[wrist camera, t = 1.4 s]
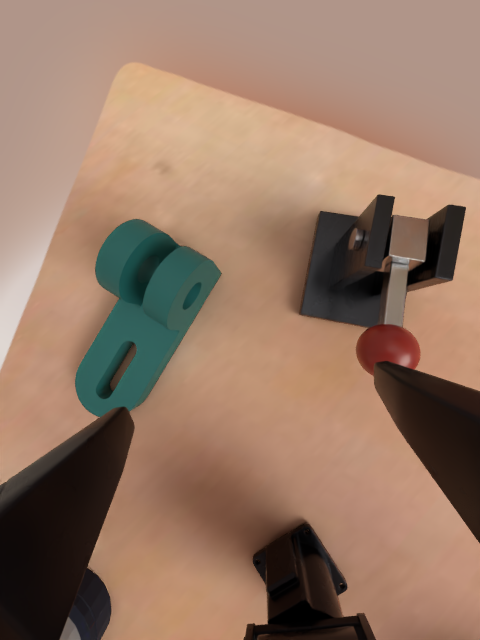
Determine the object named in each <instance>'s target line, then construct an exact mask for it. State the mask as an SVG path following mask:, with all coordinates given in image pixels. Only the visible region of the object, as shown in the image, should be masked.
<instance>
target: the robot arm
mask: <svg viewBox="0 0 480 640" xmlns="http://www.w3.org/2000/svg"><path fill="white" fill-rule="evenodd" d="M374 385H375V388H376V390H377V392H378V394H379V396H380V398H381V399H382V401H383V403H384V405H385V406H386V408H387V410H388V412H389V414H390V415H391V417H392V419H393V421H394V422H395V424H396V426H397V427H398V429H399V431H400V432H401V434H402V435H403V436H404V438H405V439H406V441H407V442H408V443H409V445H410V446H411V448H412V449H413V451H414V452H415V453H416V455H417V456H418V458H419V459H420V460H421V462H422V463H423V465H424V466H425V467H426V469H427V470H428V472H429V473H430V474H431V476H432V477H433V479H434V480H435V481H436V483H437V484H438V486H439V487H440V488H441V490H442V491H443V493H444V494H445V495H446V497H447V498H448V500H449V501H450V502H451V504H452V505H453V507H454V508H455V509H456V511H457V512H458V514H459V515H460V516H461V518H462V519H463V521H464V522H465V523H466V525H467V526H468V528H469V529H470V530H471V532H472V533H473V535H474V536H475V537H476V539H477V540H478V542H479V543H480V391H478V390H475V389H472V388H469V387H465V386H462V385H459V384H456V383H453V382H450V381H447V380H444V379H441V378H438V377H435V376H432V375H429V374H426V373H423V372H420V371H417V370H414V369H411V368H408V367H405V366H402V365H399V364H396V363H393V362H390V361H382V362H376V363H375V364H374ZM133 433H134V422H133V420H132V418H131V415H130V413H129V411H128V409H127V408H126V407H125V406H122V407H116V408H113V409H112V410H110V411H109V412H107V413H106V414H104V415H103V416H101V417H100V418H98V419H97V420H95V421H94V422H92V423H91V424H90V425H88V426H87V427H85V428H84V429H82V430H81V431H79V432H78V433H76V434H75V435H73V436H72V437H71V438H69V439H68V440H66V441H65V442H63V443H62V444H60V445H59V446H57V447H56V448H54V449H53V450H51V451H50V452H49V453H47V454H46V455H44V456H43V457H41V458H40V459H38V460H37V461H35V462H34V463H32V464H31V465H30V466H28V467H27V468H25V469H24V470H22V471H21V472H19V473H18V474H16V475H15V476H13V477H12V478H10V479H9V480H8V481H7V482H5V483H3V484H2V485H0V640H60V638H61V635H62V632H63V630H64V627H65V624H66V622H67V619H68V616H69V614H70V611H71V608H72V606H73V603H74V600H75V598H76V595H77V592H78V590H79V587H80V584H81V582H82V579H83V576H84V574H85V571H86V568H87V566H88V563H89V560H90V558H91V555H92V552H93V550H94V547H95V544H96V542H97V539H98V537H99V534H100V531H101V529H102V526H103V523H104V521H105V518H106V515H107V513H108V510H109V507H110V505H111V502H112V499H113V497H114V494H115V491H116V489H117V486H118V483H119V481H120V478H121V475H122V472H123V469H124V466H125V462H126V459H127V455H128V451H129V448H130V444H131V440H132V437H133ZM307 529H308V530H309V531H308V532H306V531H305V530H307ZM257 559H259V560H260V561H257ZM253 564H254V566H255V568H256V569H257V571H258V573H259V574H260V576H261V577H262V579H263V581H264V582H265V584H266V592H267V610H268V624H265V625H255V624H254V623H253V624H247V629H246V635H245V637H244V640H376V639H375V636H374V634H373V632H372V630H371V627H370V625H369V623H368V620H367V618H366V616H365V614H364V613H358V614H357V616H348V617H343V614H342V610H341V607H340V603H339V599H338V595H339V594H341V593H343V592H344V591H346V590H347V583H346V580H345V578H344V577H343V575H342V573H341V572H340V570H339V569H338V567H337V566H336V564H335V563H334V561H333V560H332V558H331V556H330V555H329V553H328V552H327V550H326V549H325V547H324V546H323V544H322V542H321V541H320V539H319V538H318V536H317V535H316V533H315V532H314V530H313V528H312V527H311V526H310V525H309V524H306V523H305V524H303V525H301V526H300V527H298V528H296V529H295V530H293V531H292V532H290V533H288V534H285V535H284V536H282V537H281V538H279V539H277V540H276V541H274V542H272V543H271V544H269V545H267V546H266V547H265V548H264V549H262V550H260V551H259V552H257V553H256V554H254V556H253ZM340 583H343V584H341V585H340Z"/></svg>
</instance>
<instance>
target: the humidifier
mask: <svg viewBox="0 0 480 640" xmlns="http://www.w3.org/2000/svg"><path fill="white" fill-rule="evenodd" d="M110 615H111V603H110V596H109V594H108V592H107V589H106V587H105V585H104V583H103V582H102V581H101V580H100V579H99V577H98V576H97V575H96V574H94V573H93V572H91V571H90V570H88V569H87V568H86V571H85V574H84V576H83V579H82V582H81V584H80V587H79V590H78V592H77V595H76V598H75V600H74V603H73V606H72V608H71V611H70V614H69V616H68V619H67V622H66V624H65V627H64V630H63V632H62V635H61V638H60V640H100V639H101V638H102V636H103V634H104V632H105V630H106V628H107V626H108V624H109V621H110Z"/></svg>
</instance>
